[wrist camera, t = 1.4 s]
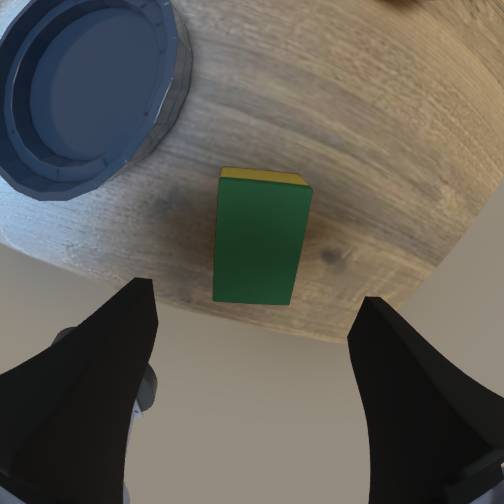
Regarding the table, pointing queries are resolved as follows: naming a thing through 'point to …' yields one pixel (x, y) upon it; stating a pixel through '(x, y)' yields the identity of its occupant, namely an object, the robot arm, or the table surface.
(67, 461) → the robot arm
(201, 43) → the table surface
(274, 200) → the sponge
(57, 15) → the bowl
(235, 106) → the table surface
